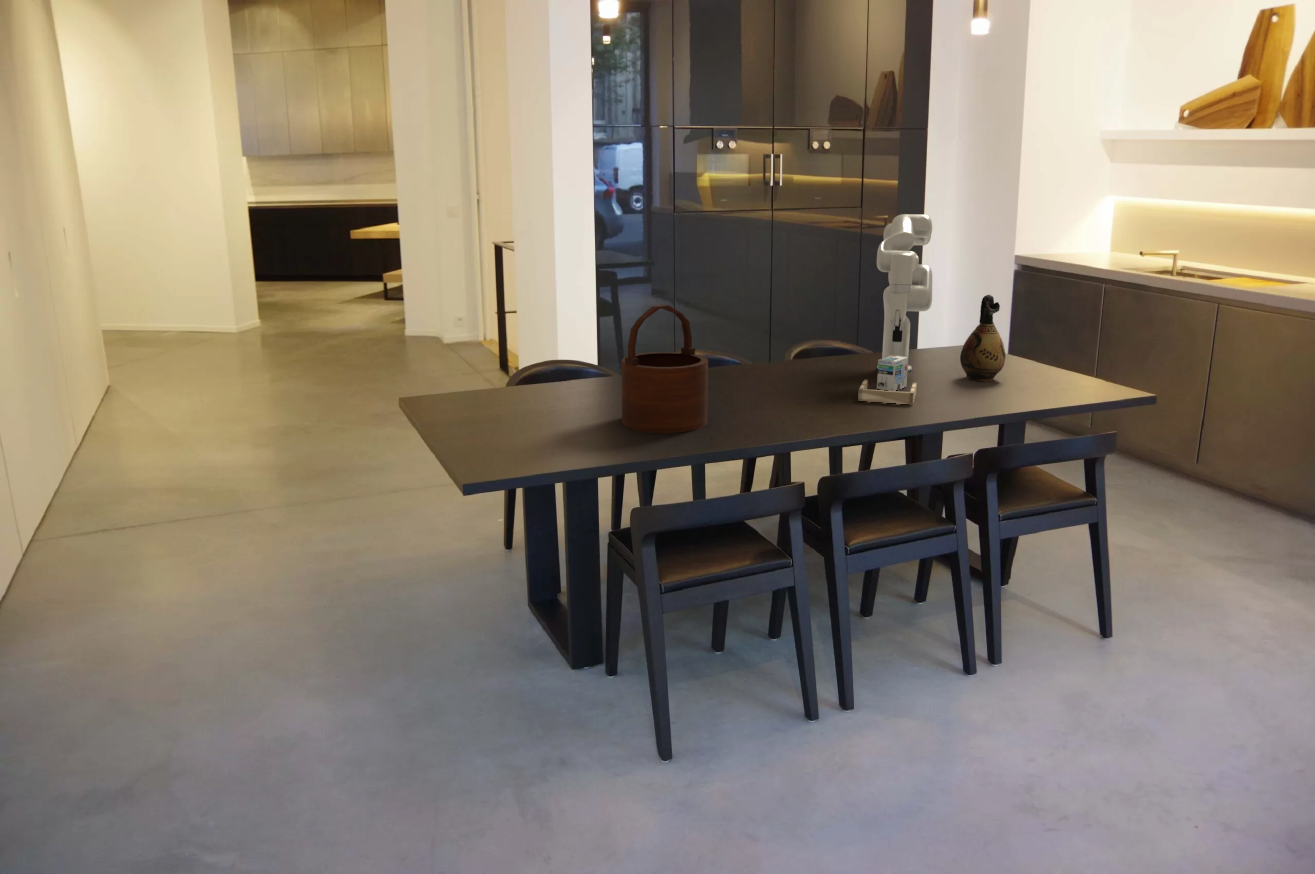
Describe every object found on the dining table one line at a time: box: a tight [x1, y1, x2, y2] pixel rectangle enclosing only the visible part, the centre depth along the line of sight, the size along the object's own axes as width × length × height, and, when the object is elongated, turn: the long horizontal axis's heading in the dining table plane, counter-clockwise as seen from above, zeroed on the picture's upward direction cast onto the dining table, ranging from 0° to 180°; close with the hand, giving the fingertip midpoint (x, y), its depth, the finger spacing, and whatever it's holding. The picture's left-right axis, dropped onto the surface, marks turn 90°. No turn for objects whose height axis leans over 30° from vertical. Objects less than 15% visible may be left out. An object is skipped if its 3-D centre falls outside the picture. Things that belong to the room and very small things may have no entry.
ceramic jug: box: [959, 294, 1007, 383], centre depth 365 cm, size 17×15×30 cm
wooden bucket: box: [621, 304, 709, 434], centre depth 304 cm, size 26×26×35 cm
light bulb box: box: [876, 355, 909, 391], centre depth 352 cm, size 11×7×11 cm, turn 143°
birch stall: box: [857, 379, 918, 406], centre depth 339 cm, size 16×17×4 cm
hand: (897, 341), depth 359 cm, fingers closed
